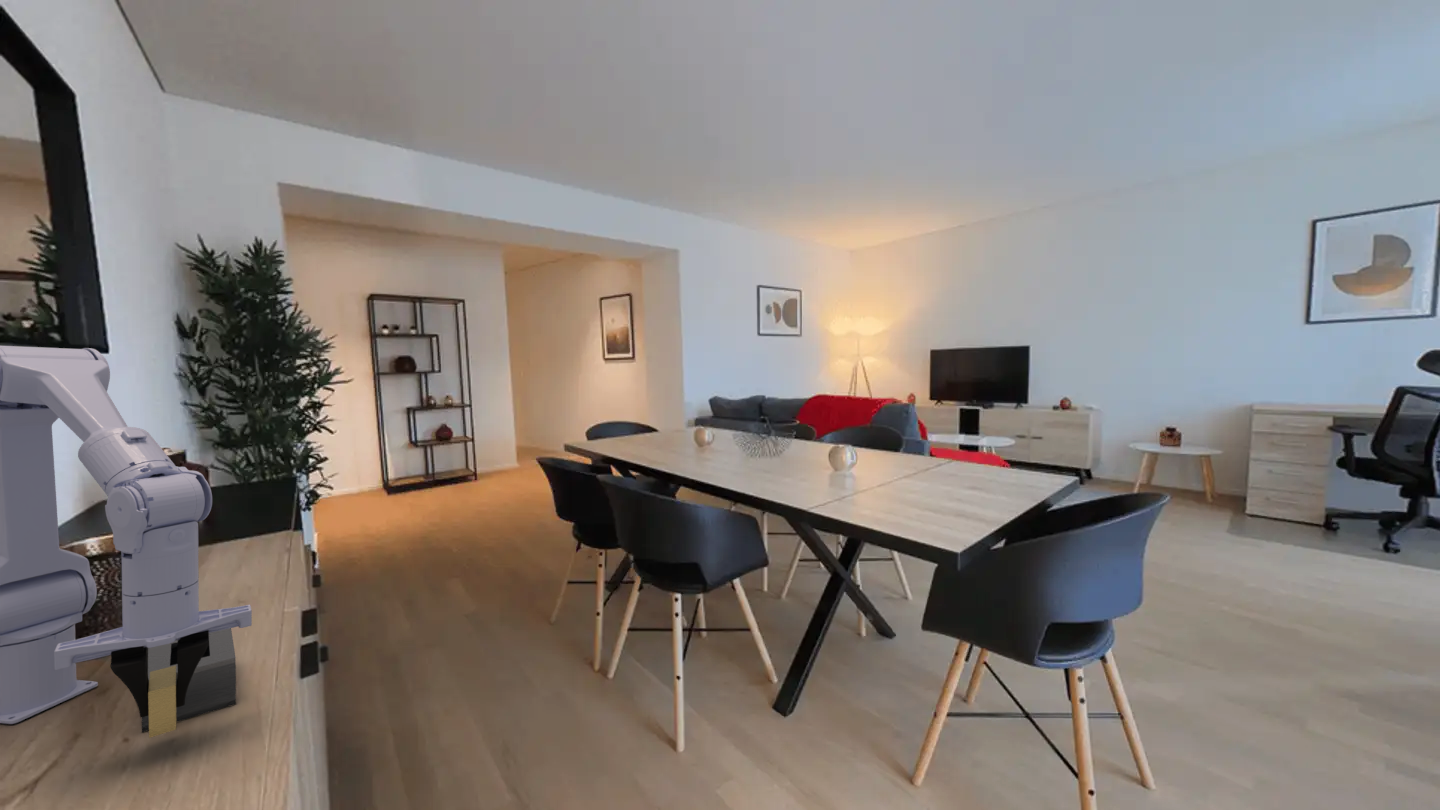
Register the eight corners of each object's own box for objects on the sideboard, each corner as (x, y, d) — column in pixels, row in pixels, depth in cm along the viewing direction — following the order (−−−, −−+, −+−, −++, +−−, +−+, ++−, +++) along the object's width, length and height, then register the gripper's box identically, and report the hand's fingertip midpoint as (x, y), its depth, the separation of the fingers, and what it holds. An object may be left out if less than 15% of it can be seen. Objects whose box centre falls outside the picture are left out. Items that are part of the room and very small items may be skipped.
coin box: (147, 686, 69) (146, 642, 69) (230, 664, 75) (230, 623, 75) (141, 732, 61) (140, 681, 61) (236, 704, 67) (235, 657, 66)
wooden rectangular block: (150, 715, 59) (150, 671, 59) (176, 707, 61) (175, 665, 60) (149, 738, 56) (148, 692, 55) (176, 729, 57) (175, 684, 57)
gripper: (47, 618, 49) (50, 758, 50) (253, 581, 60) (254, 697, 60) (60, 594, 54) (63, 721, 55) (248, 563, 65) (249, 671, 65)
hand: (163, 707), depth 58 cm, fingers closed on wooden rectangular block, 2 cm apart
